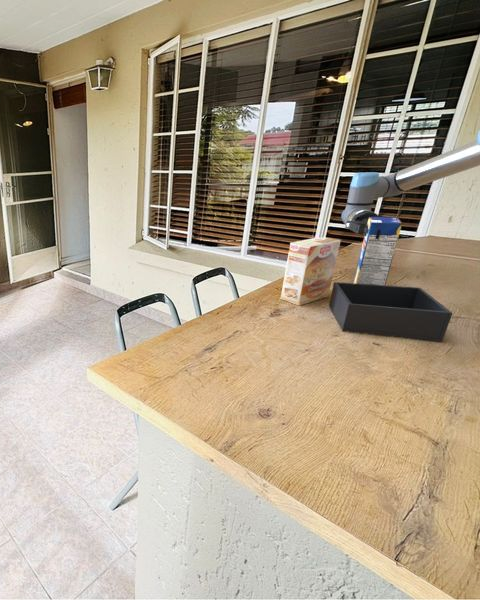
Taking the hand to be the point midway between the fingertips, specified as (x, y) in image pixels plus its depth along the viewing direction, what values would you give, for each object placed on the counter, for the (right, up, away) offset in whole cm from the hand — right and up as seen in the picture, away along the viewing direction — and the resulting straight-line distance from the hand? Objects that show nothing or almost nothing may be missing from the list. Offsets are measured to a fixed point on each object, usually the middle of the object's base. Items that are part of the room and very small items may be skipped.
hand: (386, 234), depth 102 cm
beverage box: (+4, -16, +11) cm, 20 cm away
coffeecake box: (-14, -19, +15) cm, 28 cm away
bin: (-5, -26, -4) cm, 26 cm away
